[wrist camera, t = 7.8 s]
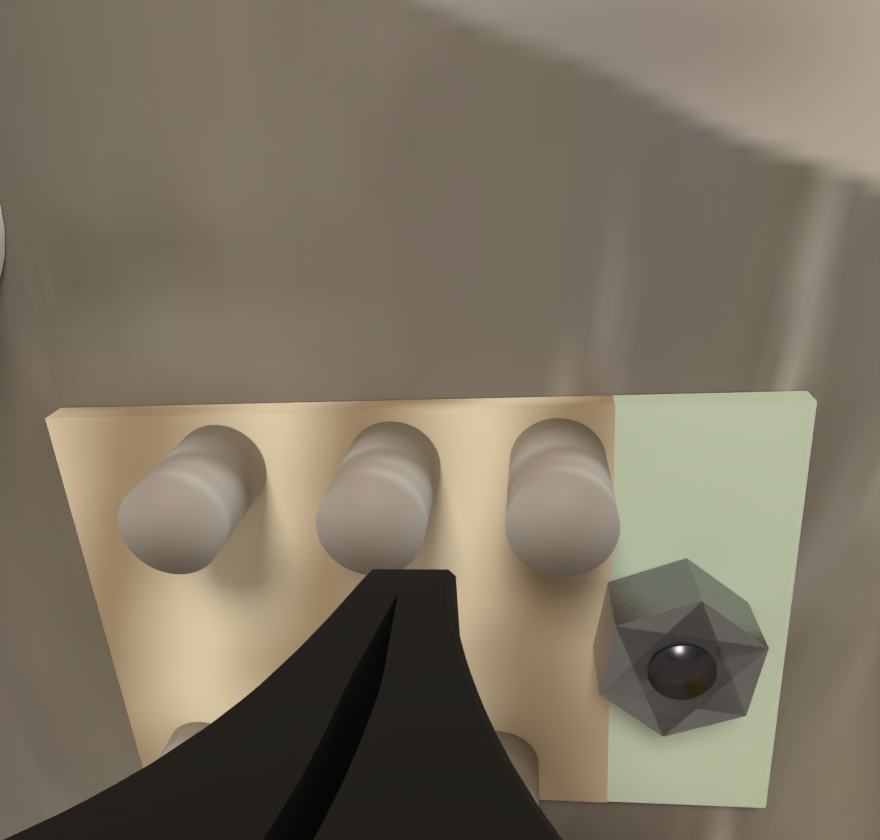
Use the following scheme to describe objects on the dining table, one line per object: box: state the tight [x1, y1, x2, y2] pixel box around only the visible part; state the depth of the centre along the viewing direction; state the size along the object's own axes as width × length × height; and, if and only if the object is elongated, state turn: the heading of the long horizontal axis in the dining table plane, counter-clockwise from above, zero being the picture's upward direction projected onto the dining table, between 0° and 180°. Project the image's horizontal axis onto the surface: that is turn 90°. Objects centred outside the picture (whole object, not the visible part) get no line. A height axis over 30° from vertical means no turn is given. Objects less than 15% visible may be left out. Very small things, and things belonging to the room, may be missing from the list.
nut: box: [593, 558, 769, 737], centre depth 22 cm, size 5×4×2 cm
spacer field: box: [45, 395, 620, 806], centre depth 23 cm, size 16×14×4 cm
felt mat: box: [607, 391, 817, 808], centre depth 23 cm, size 5×14×1 cm, turn 3°
